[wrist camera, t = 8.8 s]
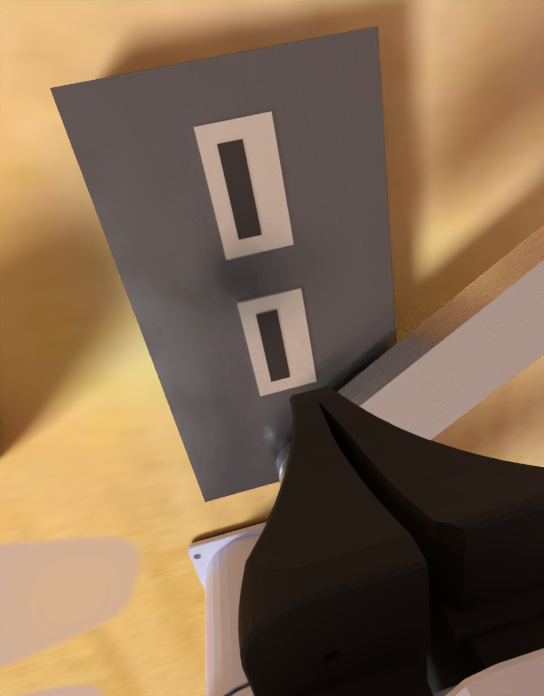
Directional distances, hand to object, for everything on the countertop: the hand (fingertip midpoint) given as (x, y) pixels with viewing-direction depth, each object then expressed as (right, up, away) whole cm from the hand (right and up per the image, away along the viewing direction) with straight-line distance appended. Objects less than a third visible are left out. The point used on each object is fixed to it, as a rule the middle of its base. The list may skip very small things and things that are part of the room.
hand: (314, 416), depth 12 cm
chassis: (-2, +5, +8) cm, 10 cm away
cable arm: (+7, +1, +7) cm, 10 cm away
